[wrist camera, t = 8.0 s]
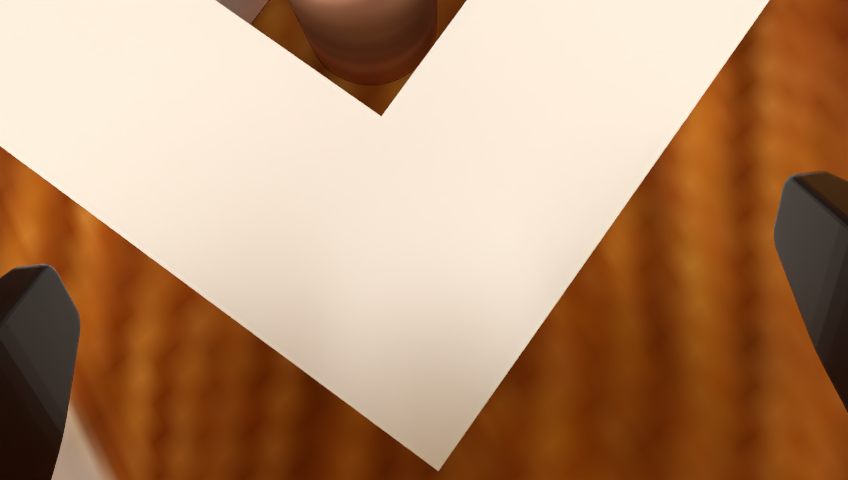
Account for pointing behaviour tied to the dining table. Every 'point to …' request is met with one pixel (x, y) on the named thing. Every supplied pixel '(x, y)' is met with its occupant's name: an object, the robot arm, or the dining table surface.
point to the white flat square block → (364, 173)
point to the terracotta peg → (368, 36)
